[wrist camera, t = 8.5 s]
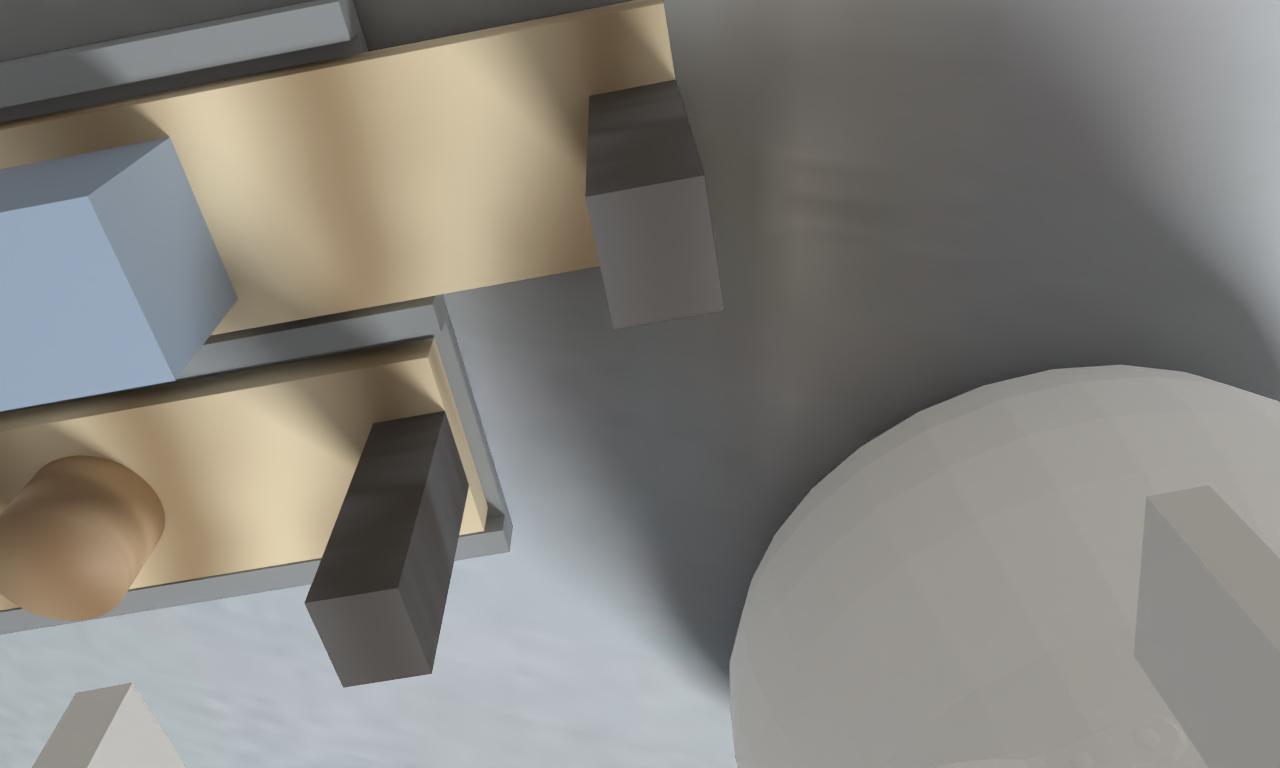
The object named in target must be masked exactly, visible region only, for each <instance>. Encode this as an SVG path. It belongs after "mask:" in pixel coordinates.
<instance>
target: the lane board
mask: <svg viewBox="0 0 1280 768" xmlns="http://www.w3.org/2000/svg"><path fill="white" fill-rule="evenodd" d="M364 52H369V51H368V48H367V44H366V41H365V38H364V34H363V31H362V28H361V25H360V21H359V18H358V15H357V11H356V8H355V5H354V1H353V0H314V1H309V2H304V3H299V4H293V5H288V6H283V7H278V8H273V9H268V10H263V11H258V12H253V13H248V14H243V15H237V16H232V17H227V18H222V19H217V20H212V21H207V22H202V23H197V24H192V25H187V26H181V27H176V28H171V29H166V30H161V31H156V32H151V33H146V34H141V35H136V36H131V37H126V38H120V39H115V40H110V41H105V42H100V43H95V44H90V45H85V46H80V47H75V48H70V49H64V50H59V51H54V52H49V53H44V54H39V55H34V56H29V57H24V58H19V59H14V60H8V61H3V62H0V123H1V122H6V121H12V120H17V119H22V118H27V117H32V116H37V115H43V114H48V113H53V112H58V111H63V110H69V109H74V108H79V107H84V106H89V105H94V104H100V103H105V102H110V101H115V100H120V99H126V98H131V97H136V96H141V95H146V94H152V93H157V92H162V91H167V90H172V89H177V88H183V87H188V86H193V85H198V84H203V83H209V82H214V81H219V80H224V79H229V78H234V77H240V76H245V75H250V74H255V73H260V72H266V71H271V70H276V69H281V68H286V67H292V66H297V65H302V64H307V63H312V62H317V61H323V60H328V59H333V58H338V57H343V56H349V55H354V54H359V53H364ZM432 337H434V338H435V341H436V344H437V347H438V350H439V353H440V357H441V360H442V363H443V366H444V369H445V372H446V376H447V379H448V382H449V385H450V388H451V391H452V395H453V398H454V401H455V404H456V407H457V410H458V414H459V417H460V420H461V423H462V426H463V429H464V433H465V436H466V439H467V442H468V445H469V449H470V452H471V455H472V458H473V461H474V464H475V468H476V471H477V474H478V477H479V480H480V483H481V487H482V490H483V493H484V496H485V499H486V502H487V506H488V510H487V516H486V522H485V528H484V531H482V532H476V533H470V534H464V535H459V538H458V544H457V549H456V554H455V559H454V561H456V560H463V559H469V558H475V557H481V556H487V555H493V554H499V553H506V552H510V544H511V536H512V528H513V525H512V522H511V519H510V515H509V512H508V509H507V505H506V502H505V499H504V496H503V492H502V489H501V486H500V482H499V479H498V476H497V473H496V469H495V466H494V463H493V459H492V456H491V453H490V449H489V446H488V443H487V440H486V436H485V433H484V430H483V426H482V423H481V420H480V417H479V413H478V410H477V407H476V403H475V400H474V397H473V393H472V390H471V387H470V384H469V380H468V377H467V374H466V370H465V367H464V364H463V361H462V357H461V354H460V351H459V347H458V344H457V341H456V337H455V334H454V331H453V328H452V324H451V321H450V318H449V314H448V311H447V308H446V305H445V301H444V298H443V295H442V294H441V295H436V296H430V297H424V298H419V299H413V300H408V301H402V302H396V303H391V304H385V305H380V306H374V307H368V308H363V309H357V310H351V311H346V312H340V313H335V314H329V315H323V316H318V317H312V318H306V319H301V320H295V321H290V322H284V323H278V324H273V325H267V326H262V327H256V328H250V329H245V330H239V331H233V332H228V333H222V334H217V335H211V336H209V338H208V339H207V340H206V341H205V343H204V344H203V345H202V347H201V348H200V349H199V351H198V352H197V353H196V354H195V356H194V357H193V358H192V360H191V361H190V362H189V364H188V365H187V366H186V367H185V369H184V370H183V371H182V373H181V374H180V375H179V377H178V378H177V379H176V380H175V381H171V382H165V383H159V384H154V385H148V386H142V387H136V388H131V389H125V390H119V391H114V392H108V393H102V394H97V395H91V396H85V397H80V398H74V399H68V400H62V401H57V402H51V403H45V404H40V405H34V406H28V407H23V408H17V409H11V410H6V411H0V413H5V412H11V411H16V410H22V409H28V408H34V407H39V406H45V405H51V404H56V403H62V402H68V401H73V400H79V399H85V398H91V397H96V396H102V395H108V394H113V393H119V392H125V391H130V390H136V389H142V388H147V387H153V386H159V385H165V384H170V383H176V382H182V381H187V380H193V379H199V378H204V377H210V376H216V375H222V374H227V373H233V372H239V371H244V370H250V369H256V368H261V367H267V366H273V365H278V364H284V363H290V362H296V361H301V360H307V359H313V358H318V357H324V356H330V355H335V354H341V353H347V352H352V351H358V350H364V349H370V348H375V347H381V346H387V345H392V344H398V343H404V342H409V341H415V340H421V339H427V338H432ZM321 559H322V558H317V559H311V560H305V561H299V562H293V563H287V564H281V565H275V566H269V567H263V568H256V569H250V570H244V571H238V572H232V573H226V574H220V575H214V576H208V577H202V578H195V579H189V580H183V581H177V582H171V583H165V584H159V585H153V586H147V587H141V588H134V589H129V590H128V591H127V593H126V595H125V596H124V598H123V599H122V601H121V602H120V603H119V604H118V605H117V606H116V607H115V608H114V609H112V610H111V611H110V612H108V613H106V614H104V615H102V616H99V617H96V618H92V619H88V620H93V619H99V618H105V617H112V616H118V615H124V614H130V613H136V612H142V611H149V610H155V609H161V608H167V607H173V606H179V605H185V604H192V603H198V602H204V601H210V600H216V599H222V598H229V597H235V596H241V595H247V594H253V593H259V592H266V591H272V590H278V589H284V588H290V587H296V586H302V585H309V584H312V582H313V580H314V577H315V575H316V572H317V569H318V567H319V564H320V561H321ZM81 621H87V620H80V621H66V620H57V619H51V618H47V617H43V616H40V615H37V614H34V613H31V612H29V611H27V610H25V609H23V608H21V607H18V608H12V609H6V610H0V635H1V634H7V633H13V632H19V631H25V630H32V629H38V628H44V627H50V626H56V625H62V624H69V623H75V622H81Z"/></svg>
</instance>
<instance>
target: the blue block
mask: <svg viewBox="0 0 1280 768" xmlns="http://www.w3.org/2000/svg"><path fill="white" fill-rule="evenodd" d="M237 300H238V298H237V296H236V293H235V291H234V289H233V286H232V284H231V281H230V279H229V277H228V274H227V272H226V270H225V267H224V265H223V262H222V260H221V258H220V255H219V253H218V250H217V248H216V246H215V243H214V241H213V239H212V236H211V234H210V231H209V229H208V227H207V224H206V222H205V219H204V217H203V215H202V212H201V210H200V208H199V205H198V203H197V200H196V198H195V196H194V193H193V191H192V188H191V186H190V184H189V181H188V179H187V177H186V174H185V172H184V169H183V167H182V165H181V162H180V160H179V157H178V155H177V153H176V150H175V148H174V146H173V143H172V141H171V138H170V137H168V138H163V139H157V140H152V141H147V142H141V143H136V144H131V145H126V146H120V147H115V148H110V149H105V150H99V151H94V152H89V153H84V154H78V155H73V156H68V157H63V158H57V159H52V160H47V161H42V162H36V163H31V164H26V165H20V166H15V167H10V168H5V169H0V411H6V410H11V409H17V408H23V407H28V406H34V405H40V404H45V403H51V402H57V401H62V400H68V399H74V398H80V397H85V396H91V395H97V394H102V393H108V392H114V391H119V390H125V389H131V388H136V387H142V386H148V385H154V384H159V383H165V382H171V381H175V380H176V379H177V378H178V377H179V375H180V374H181V373H182V371H183V370H184V369H185V367H186V366H187V365H188V364H189V362H190V361H191V360H192V358H193V357H194V356H195V354H196V353H197V352H198V351H199V349H200V348H201V347H202V345H203V344H204V343H205V341H206V340H207V339H208V338H209V336H210V335H211V334H212V332H213V331H214V330H215V328H216V327H217V326H218V325H219V323H220V322H221V321H222V319H223V318H224V317H225V315H226V314H227V313H228V312H229V310H230V309H231V308H232V306H233V305H234V304H235V302H236V301H237Z"/></svg>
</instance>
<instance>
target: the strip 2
mask: <svg viewBox="0 0 1280 768" xmlns="http://www.w3.org/2000/svg"><path fill="white" fill-rule="evenodd" d="M68 456H94V457H99V458H104V459H107V460H111V461H113V462H116V463H118V464H121V465H123V466H125V467H127V468H129V469H130V470H132V471H133V472H135V473H136V474H138V475H139V476H140V477H142V478H143V479H144V480H145V481H146V482H147V483H148V484H149V485H150V486H151V487H152V488H153V490H154V491H155V492H156V494H157V495H158V497H159V499H160V501H161V503H162V505H163V509H164V512H165V527H164V531H163V534H162V536H161V538H160V540H159V541H158V543H157V545H156V546H155V548H154V549H153V551H152V553H151V554H150V556H149V557H148V559H147V561H146V562H145V564H144V566H143V567H142V569H141V570H140V572H139V574H138V575H137V577H136V578H135V580H134V582H133V583H132V585H131V586H130V588H129V589H134V588H141V587H147V586H153V585H159V584H165V583H171V582H177V581H183V580H189V579H195V578H202V577H208V576H214V575H220V574H226V573H232V572H238V571H244V570H250V569H256V568H263V567H269V566H275V565H281V564H287V563H293V562H299V561H305V560H311V559H317V558H322V559H321V561H320V564H319V567H318V569H317V572H316V575H315V577H314V580H313V582H312V585H311V588H310V590H309V593H308V595H307V598H306V601H305V605H306V607H307V610H308V612H309V614H310V616H311V618H312V620H313V623H314V625H315V627H316V629H317V631H318V633H319V636H320V638H321V640H322V642H323V644H324V646H325V649H326V651H327V653H328V655H329V657H330V660H331V662H332V664H333V666H334V668H335V670H336V673H337V675H338V677H339V679H340V681H341V683H342V686H343V687H349V686H356V685H362V684H369V683H375V682H381V681H388V680H394V679H401V678H407V677H413V676H420V675H426V674H432V669H433V664H434V659H435V654H436V649H437V644H438V639H439V634H440V629H441V624H442V619H443V614H444V609H445V604H446V599H447V594H448V589H449V584H450V579H451V574H452V569H453V564H454V559H455V554H456V549H457V544H458V538H459V535H464V534H470V533H476V532H482V531H484V528H485V522H486V516H487V510H488V506H487V502H486V499H485V496H484V493H483V490H482V487H481V483H480V480H479V477H478V474H477V471H476V468H475V464H474V461H473V458H472V455H471V452H470V449H469V445H468V442H467V439H466V436H465V433H464V429H463V426H462V423H461V420H460V417H459V414H458V410H457V407H456V404H455V401H454V398H453V395H452V391H451V388H450V385H449V382H448V379H447V376H446V372H445V369H444V366H443V363H442V360H441V357H440V353H439V350H438V347H437V344H436V341H435V338H434V337H432V338H427V339H421V340H415V341H409V342H404V343H398V344H392V345H387V346H381V347H375V348H370V349H364V350H358V351H352V352H347V353H341V354H335V355H330V356H324V357H318V358H313V359H307V360H301V361H296V362H290V363H284V364H278V365H273V366H267V367H261V368H256V369H250V370H244V371H239V372H233V373H227V374H222V375H216V376H210V377H204V378H199V379H193V380H187V381H182V382H176V383H170V384H165V385H159V386H153V387H147V388H142V389H136V390H130V391H125V392H119V393H113V394H108V395H102V396H96V397H91V398H85V399H79V400H73V401H68V402H62V403H56V404H51V405H45V406H39V407H34V408H28V409H22V410H16V411H11V412H5V413H0V514H1V513H2V512H3V511H4V510H5V509H6V507H7V506H8V505H9V504H10V503H11V502H12V501H13V499H14V498H15V497H16V496H17V495H18V494H19V493H20V491H21V490H22V489H23V488H24V487H25V486H26V484H27V483H28V482H29V481H30V480H31V479H32V478H33V476H34V475H35V474H36V473H37V472H38V471H39V470H40V469H41V468H42V467H43V466H45V465H46V464H48V463H50V462H51V461H54V460H57V459H59V458H63V457H68ZM18 607H19V606H17V605H15V604H14V603H12V602H11V601H9V600H8V599H6V598H5V597H4V596H3V595H2V594H0V610H6V609H12V608H18Z"/></svg>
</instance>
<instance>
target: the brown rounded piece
mask: <svg viewBox="0 0 1280 768" xmlns="http://www.w3.org/2000/svg"><path fill="white" fill-rule="evenodd" d="M164 527H165V512H164V509H163V505H162V503H161V501H160V499H159V497H158V495H157V494H156V492H155V491H154V490H153V488H152V487H151V486H150V485H149V484H148V483H147V482H146V481H145V480H144V479H143V478H142V477H140V476H139V475H138V474H136V473H135V472H133V471H132V470H130V469H129V468H127V467H125V466H123V465H121V464H118V463H116V462H113V461H111V460H107V459H104V458H99V457H94V456H68V457H63V458H59V459H57V460H54V461H51V462H50V463H48V464H46V465H45V466H43V467H42V468H41V469H40V470H39V471H38V472H37V473H36V474H35V475H34V476H33V478H32V479H31V480H30V481H29V482H28V483H27V484H26V486H25V487H24V488H23V489H22V490H21V491H20V493H19V494H18V495H17V496H16V497H15V498H14V499H13V501H12V502H11V503H10V504H9V505H8V506H7V507H6V509H5V510H4V511H3V512H2V513H1V514H0V594H2V595H3V596H4V597H5V598H6V599H8V600H9V601H11V602H12V603H14V604H15V605H17V606H19V607H21V608H23V609H25V610H27V611H29V612H31V613H34V614H37V615H40V616H43V617H47V618H51V619H57V620H66V621H80V620H88V619H92V618H96V617H99V616H102V615H104V614H106V613H108V612H110V611H111V610H112V609H114V608H115V607H116V606H117V605H118V604H119V603H120V602H121V601H122V599H123V598H124V596H125V595H126V593H127V591H128V590H129V588H130V586H131V585H132V583H133V582H134V580H135V578H136V577H137V575H138V574H139V572H140V570H141V569H142V567H143V566H144V564H145V562H146V561H147V559H148V557H149V556H150V554H151V553H152V551H153V549H154V548H155V546H156V545H157V543H158V541H159V540H160V538H161V536H162V534H163V531H164Z"/></svg>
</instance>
